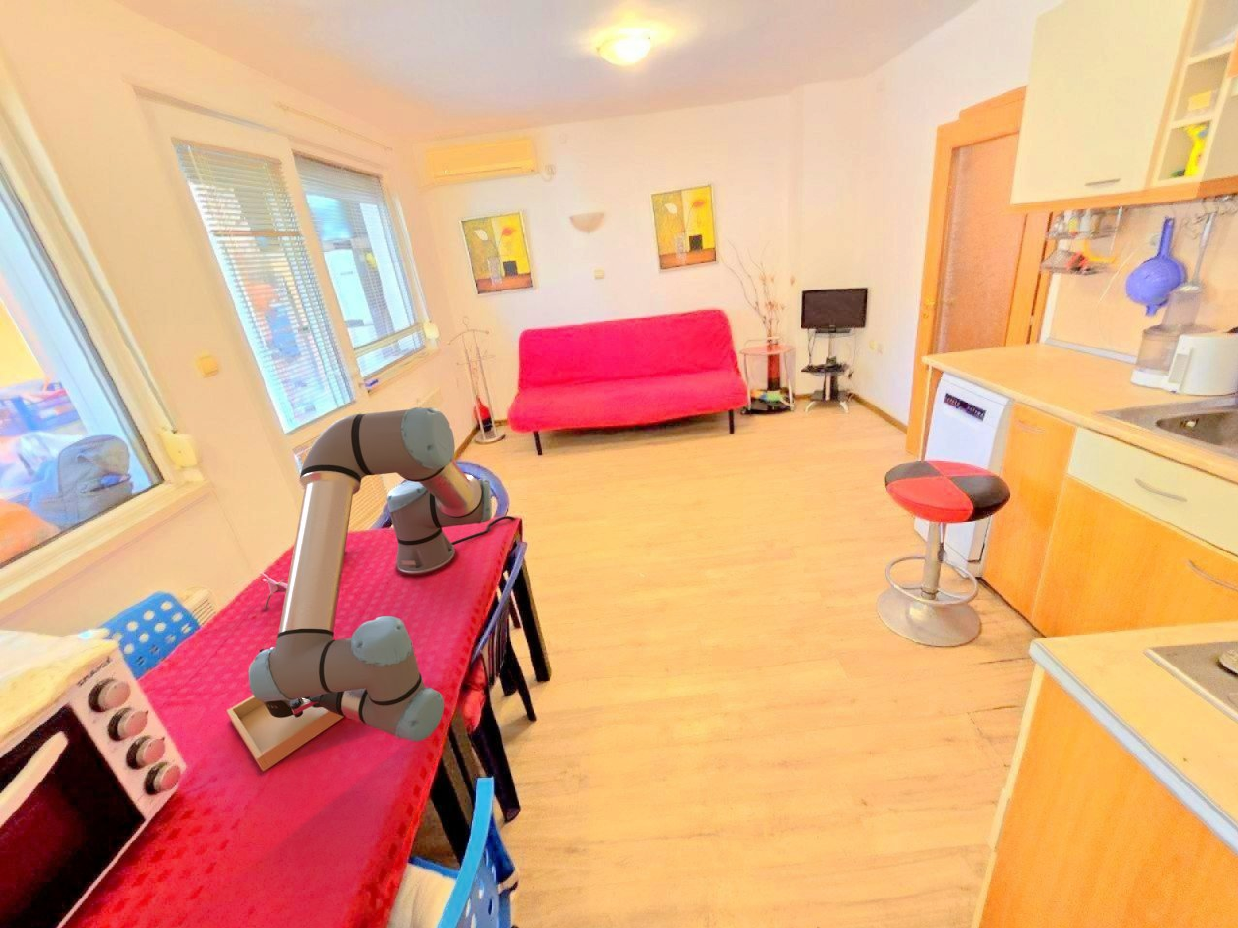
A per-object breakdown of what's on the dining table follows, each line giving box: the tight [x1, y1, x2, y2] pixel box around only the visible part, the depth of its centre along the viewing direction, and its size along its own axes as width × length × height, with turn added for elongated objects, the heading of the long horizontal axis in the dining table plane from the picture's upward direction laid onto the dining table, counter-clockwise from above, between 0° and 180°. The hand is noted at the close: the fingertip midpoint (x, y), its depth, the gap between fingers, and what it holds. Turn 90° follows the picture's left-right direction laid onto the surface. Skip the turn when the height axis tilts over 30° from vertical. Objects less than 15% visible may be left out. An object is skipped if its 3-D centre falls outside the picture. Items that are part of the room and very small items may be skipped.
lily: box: [253, 568, 287, 611], centre depth 126 cm, size 12×12×10 cm
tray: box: [226, 694, 345, 772], centre depth 94 cm, size 19×17×3 cm
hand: (266, 661), depth 93 cm, fingers closed
